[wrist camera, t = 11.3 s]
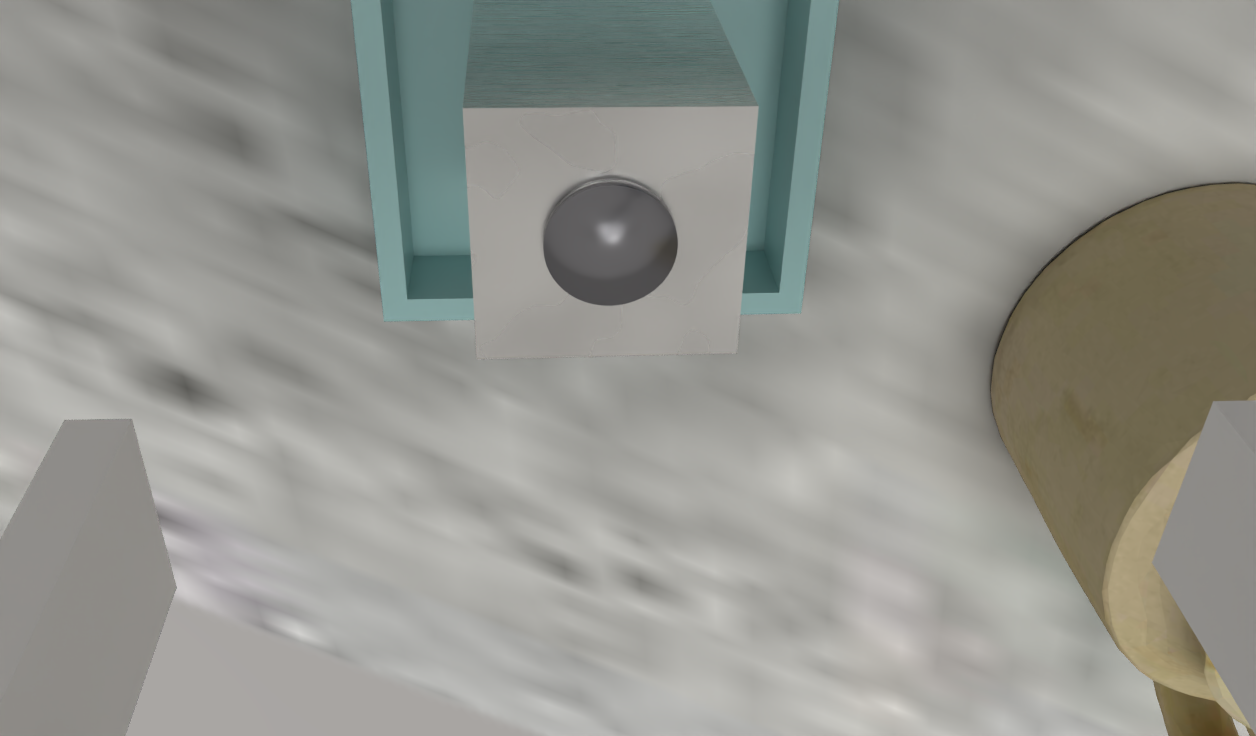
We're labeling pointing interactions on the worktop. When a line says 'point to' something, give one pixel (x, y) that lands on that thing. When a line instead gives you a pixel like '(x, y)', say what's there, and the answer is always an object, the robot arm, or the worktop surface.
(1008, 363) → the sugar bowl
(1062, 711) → the worktop surface
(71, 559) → the robot arm
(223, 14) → the worktop surface
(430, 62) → the parts tray
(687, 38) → the steel cube with knob
